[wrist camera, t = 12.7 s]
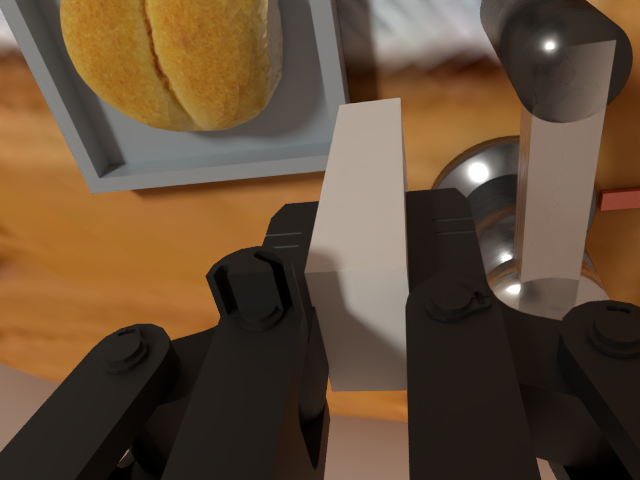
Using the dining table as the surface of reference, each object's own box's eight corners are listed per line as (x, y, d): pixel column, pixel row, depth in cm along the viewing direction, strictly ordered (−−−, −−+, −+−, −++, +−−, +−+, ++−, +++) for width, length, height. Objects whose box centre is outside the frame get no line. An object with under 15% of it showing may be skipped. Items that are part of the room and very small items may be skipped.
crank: (557, 253, 27) (604, 367, 21) (458, 259, 28) (477, 370, 22) (593, -47, 19) (685, 1, 13) (453, -25, 20) (480, 30, 14)
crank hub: (430, 270, 30) (439, 362, 25) (422, 144, 26) (431, 223, 20) (670, 256, 28) (737, 353, 23) (710, 114, 23) (805, 194, 18)
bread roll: (55, -77, 21) (-5, -64, 18) (277, -81, 20) (256, -68, 17) (110, 118, 26) (70, 156, 23) (290, 122, 25) (275, 162, 22)
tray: (108, 174, 29) (91, 193, 27) (-30, -127, 21) (-65, -125, 19) (357, 148, 26) (355, 167, 24) (307, -206, 18) (299, -211, 17)
